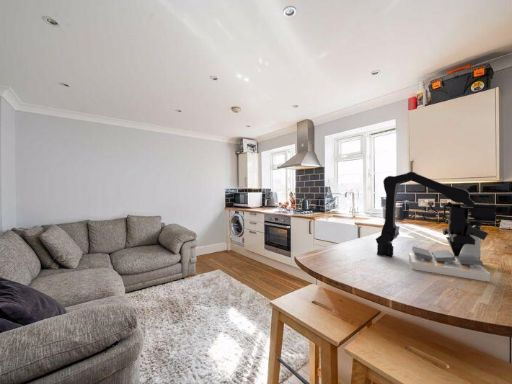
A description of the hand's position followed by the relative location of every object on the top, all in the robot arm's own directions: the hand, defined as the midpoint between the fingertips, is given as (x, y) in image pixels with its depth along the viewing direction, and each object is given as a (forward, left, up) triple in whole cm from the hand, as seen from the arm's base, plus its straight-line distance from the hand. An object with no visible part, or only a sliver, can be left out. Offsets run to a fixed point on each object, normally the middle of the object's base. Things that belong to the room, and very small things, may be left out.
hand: (456, 256), depth 89 cm
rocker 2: (-4, 0, -1) cm, 4 cm away
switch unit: (-4, -1, -6) cm, 7 cm away
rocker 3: (+3, 0, -1) cm, 4 cm away
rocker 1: (-12, 0, -1) cm, 12 cm away
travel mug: (+8, +16, -6) cm, 19 cm away
